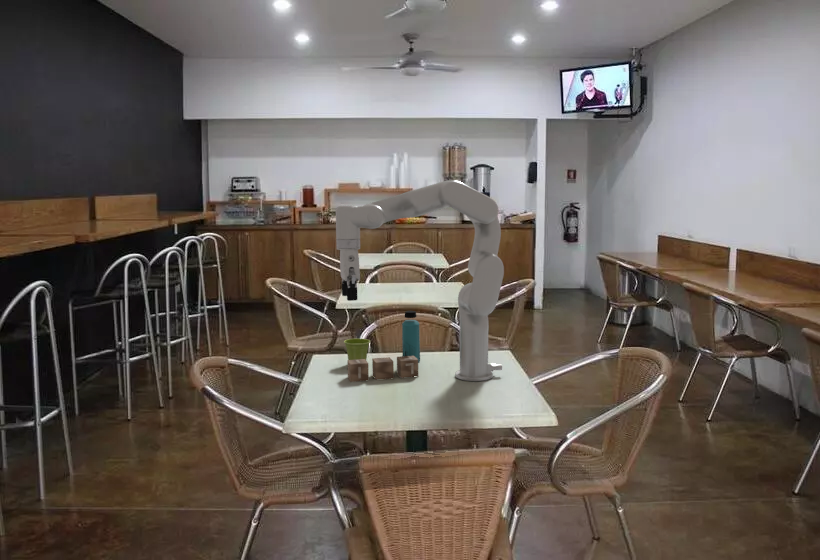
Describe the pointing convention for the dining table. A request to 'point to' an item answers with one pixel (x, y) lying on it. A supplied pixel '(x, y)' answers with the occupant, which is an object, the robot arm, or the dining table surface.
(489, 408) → the dining table surface
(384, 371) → the plain block
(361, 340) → the plant pot
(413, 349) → the beverage bottle
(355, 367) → the block one
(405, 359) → the block seven
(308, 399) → the dining table surface
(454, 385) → the dining table surface
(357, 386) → the dining table surface
